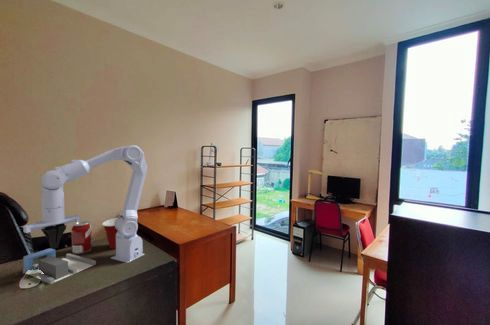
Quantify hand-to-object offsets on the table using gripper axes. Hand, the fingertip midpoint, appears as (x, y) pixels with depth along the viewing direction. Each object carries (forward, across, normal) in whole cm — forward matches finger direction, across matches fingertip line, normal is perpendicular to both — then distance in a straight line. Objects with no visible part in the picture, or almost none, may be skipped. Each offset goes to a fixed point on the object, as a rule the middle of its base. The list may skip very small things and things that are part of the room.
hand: (54, 247), depth 76 cm
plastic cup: (+10, -24, -5) cm, 27 cm away
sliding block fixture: (+9, -3, -3) cm, 10 cm away
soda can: (+10, -15, -13) cm, 22 cm away
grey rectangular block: (+9, 0, -1) cm, 9 cm away
